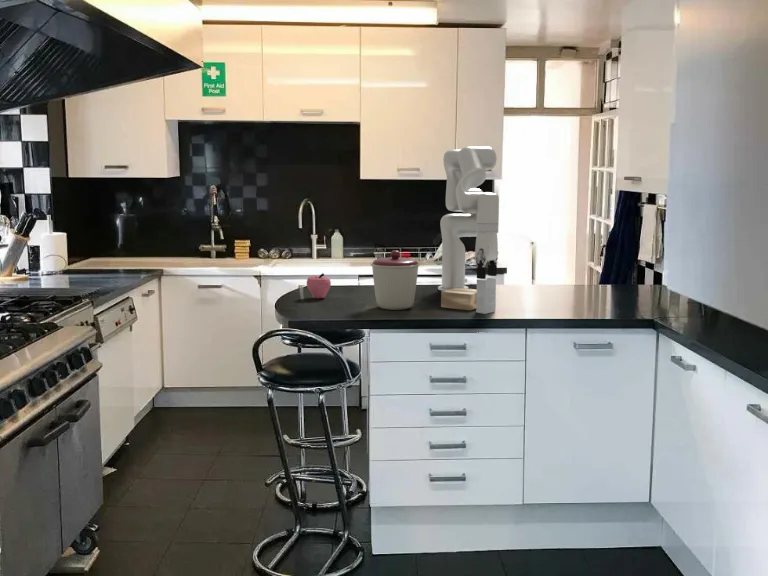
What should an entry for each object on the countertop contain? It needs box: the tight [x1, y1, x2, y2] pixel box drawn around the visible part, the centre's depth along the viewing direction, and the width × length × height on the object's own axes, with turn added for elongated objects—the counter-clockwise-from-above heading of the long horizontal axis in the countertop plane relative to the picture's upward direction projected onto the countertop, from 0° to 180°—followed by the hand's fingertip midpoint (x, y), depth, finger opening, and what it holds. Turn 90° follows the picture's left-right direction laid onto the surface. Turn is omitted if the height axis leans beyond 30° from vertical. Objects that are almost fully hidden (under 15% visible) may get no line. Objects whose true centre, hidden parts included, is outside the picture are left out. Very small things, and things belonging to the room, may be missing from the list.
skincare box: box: [475, 277, 497, 315], centre depth 290 cm, size 6×4×12 cm
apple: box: [306, 272, 332, 299], centre depth 319 cm, size 10×9×10 cm
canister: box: [369, 250, 421, 311], centre depth 297 cm, size 18×18×21 cm
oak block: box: [440, 288, 477, 311], centre depth 302 cm, size 12×12×6 cm
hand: (486, 277), depth 288 cm, fingers open, 9 cm apart
